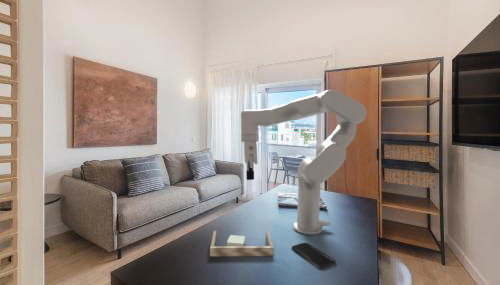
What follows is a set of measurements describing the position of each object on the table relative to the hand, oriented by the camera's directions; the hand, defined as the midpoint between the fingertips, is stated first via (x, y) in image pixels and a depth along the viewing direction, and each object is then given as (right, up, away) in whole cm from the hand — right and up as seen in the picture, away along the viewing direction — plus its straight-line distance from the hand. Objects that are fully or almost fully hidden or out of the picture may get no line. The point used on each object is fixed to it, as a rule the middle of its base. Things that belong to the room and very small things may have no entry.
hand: (250, 179), depth 104 cm
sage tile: (-5, -23, -15) cm, 28 cm away
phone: (+22, -24, -21) cm, 39 cm away
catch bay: (-3, -23, -16) cm, 28 cm away
